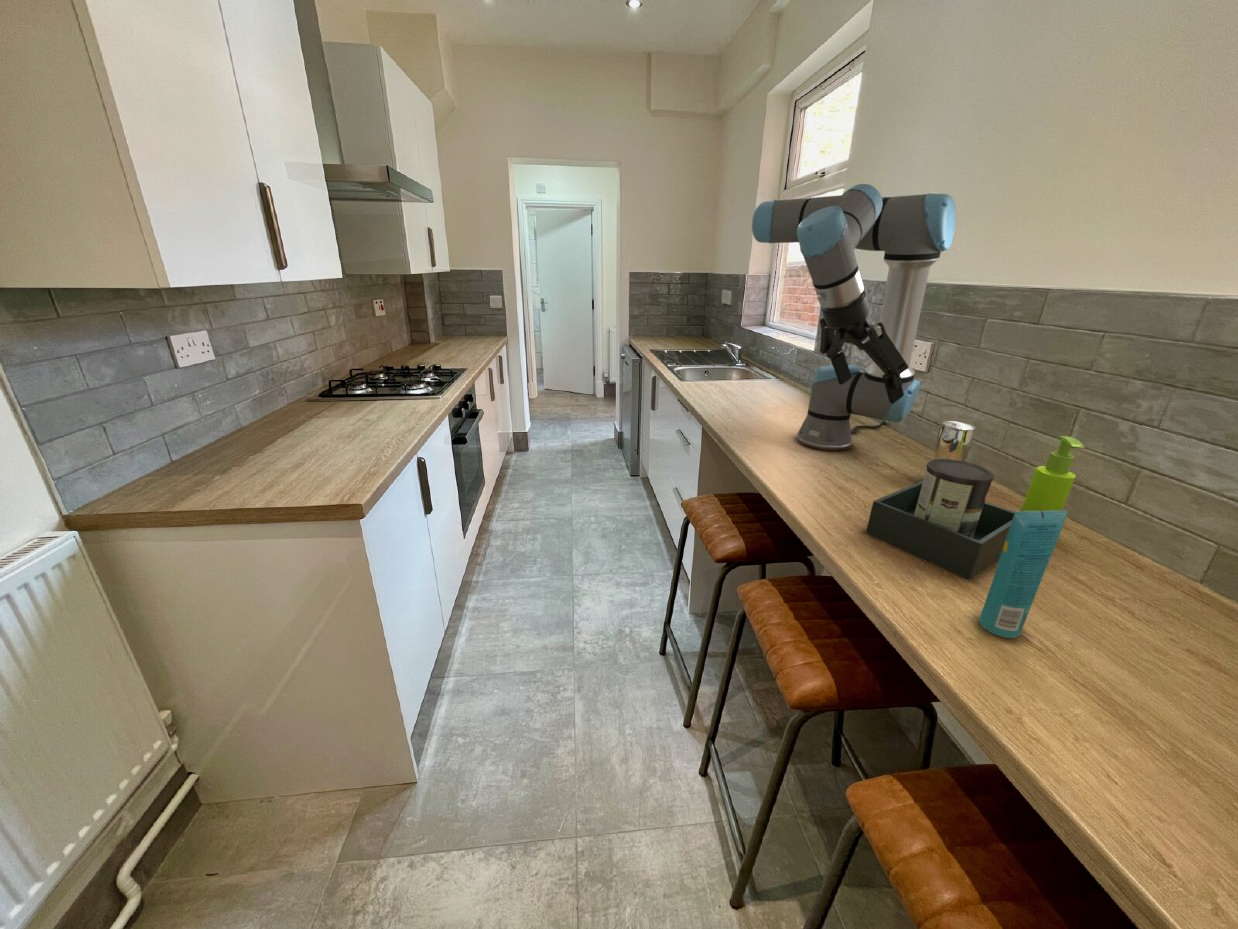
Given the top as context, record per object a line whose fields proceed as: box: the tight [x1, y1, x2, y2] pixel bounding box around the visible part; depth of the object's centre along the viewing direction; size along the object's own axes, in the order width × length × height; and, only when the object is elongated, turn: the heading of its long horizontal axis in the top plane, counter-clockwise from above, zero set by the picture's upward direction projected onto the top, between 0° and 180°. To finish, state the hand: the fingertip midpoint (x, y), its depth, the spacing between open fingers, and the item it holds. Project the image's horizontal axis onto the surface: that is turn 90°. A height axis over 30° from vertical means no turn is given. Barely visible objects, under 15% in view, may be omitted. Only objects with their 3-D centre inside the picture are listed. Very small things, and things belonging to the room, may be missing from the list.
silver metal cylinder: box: [933, 420, 976, 462], centre depth 117 cm, size 7×7×15 cm
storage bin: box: [865, 480, 1016, 580], centre depth 93 cm, size 19×19×7 cm
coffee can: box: [914, 459, 995, 538], centre depth 92 cm, size 10×10×14 cm
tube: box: [978, 509, 1068, 639], centre depth 68 cm, size 7×5×19 cm, turn 100°
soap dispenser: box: [1020, 435, 1085, 511], centre depth 94 cm, size 6×7×20 cm
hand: (869, 389), depth 99 cm, fingers open, 13 cm apart
